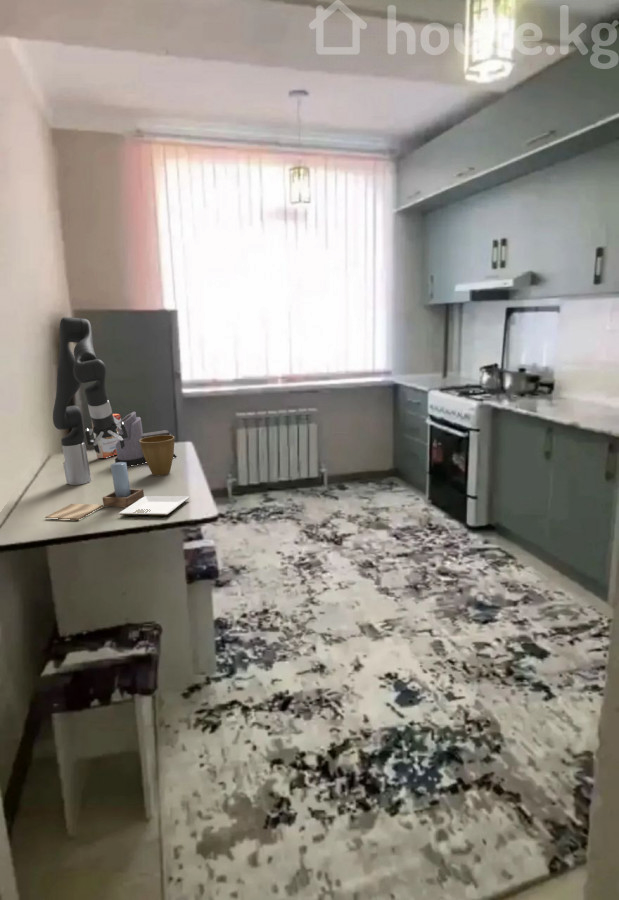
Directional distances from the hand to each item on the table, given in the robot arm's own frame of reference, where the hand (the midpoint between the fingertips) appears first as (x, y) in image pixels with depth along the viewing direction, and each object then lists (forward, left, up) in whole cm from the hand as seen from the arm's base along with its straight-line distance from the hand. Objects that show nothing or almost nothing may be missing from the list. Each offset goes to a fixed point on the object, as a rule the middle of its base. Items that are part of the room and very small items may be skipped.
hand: (110, 449), depth 214 cm
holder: (+4, -3, -20) cm, 20 cm away
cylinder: (+4, -3, -20) cm, 20 cm away
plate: (+21, -9, -20) cm, 31 cm away
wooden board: (-8, -16, -20) cm, 26 cm away
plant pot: (-2, +35, -20) cm, 41 cm away
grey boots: (-24, +58, -20) cm, 66 cm away
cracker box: (-49, +66, -20) cm, 85 cm away
